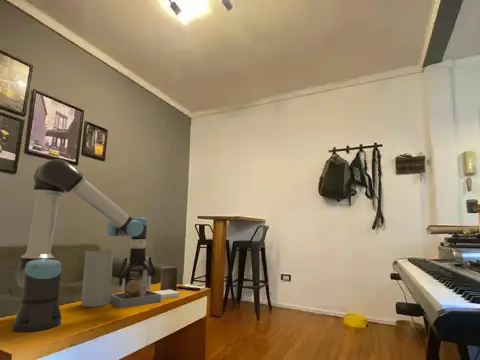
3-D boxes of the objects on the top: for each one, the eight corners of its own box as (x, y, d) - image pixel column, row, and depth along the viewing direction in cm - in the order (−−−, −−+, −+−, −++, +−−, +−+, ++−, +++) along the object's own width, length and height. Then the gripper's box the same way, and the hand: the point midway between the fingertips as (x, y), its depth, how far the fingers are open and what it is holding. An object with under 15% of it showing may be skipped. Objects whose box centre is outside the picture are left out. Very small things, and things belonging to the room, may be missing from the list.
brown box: (178, 291, 182) (179, 265, 185) (162, 292, 177) (164, 265, 180) (173, 288, 190) (174, 263, 193) (157, 290, 185) (159, 264, 188)
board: (159, 299, 159) (159, 295, 159) (149, 295, 168) (150, 291, 168) (179, 296, 166) (180, 292, 167) (169, 293, 175) (169, 289, 176)
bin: (120, 307, 141) (120, 299, 141) (109, 301, 153) (109, 294, 153) (160, 301, 153) (160, 294, 154) (147, 296, 165) (148, 289, 166)
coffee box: (123, 303, 150) (125, 269, 153) (129, 300, 156) (131, 267, 159) (141, 303, 149) (143, 269, 152) (146, 300, 156) (148, 268, 158)
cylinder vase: (111, 301, 154) (114, 250, 159) (107, 306, 143) (111, 251, 147) (84, 302, 151) (88, 250, 156) (78, 308, 139) (83, 252, 144)
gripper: (115, 248, 147) (112, 295, 143) (163, 247, 162) (162, 289, 159) (110, 248, 153) (107, 292, 149) (157, 246, 168) (155, 287, 164)
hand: (135, 290), depth 154 cm, fingers open, 13 cm apart
